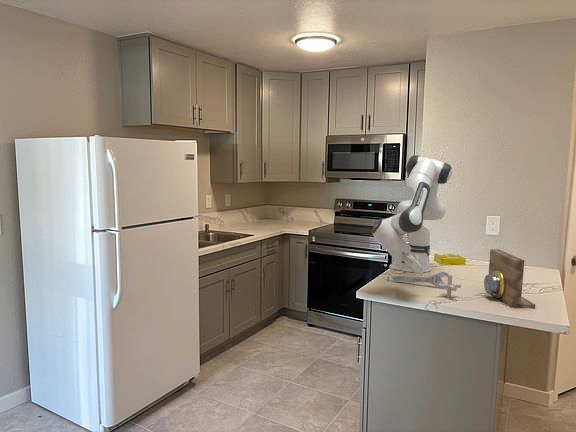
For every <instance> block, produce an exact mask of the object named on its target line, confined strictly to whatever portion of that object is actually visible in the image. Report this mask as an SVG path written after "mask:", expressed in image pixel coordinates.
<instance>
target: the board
mask: <svg viewBox="0 0 576 432" xmlns="http://www.w3.org/2000/svg"><path fill="white" fill-rule="evenodd" d="M524 269H525V259H523V258H519V257H518V256H516V255H513V254H510V253H508V252H505V251H504V250H502V249H499V248H498V249H496V248H495V249H491V248H490V250H489V263H488V274H487V275H492V274H493V272H494V271H501V272H502V273H503V275H504V278H505V293H504V295H503V297H502V298H497V299H498V300H499V301H501V302H502V303H504V305H506V306H508V307H510V308H512V309H514V308H517V309H536V304H535V303H533V302H532V301H530V300H528V299H526V298H525V297H523V296H522V294H523V293H522V291H523V281H524V271H525V270H524ZM490 294H491V295H492V296H493V297H494V295H493V293H490Z"/></svg>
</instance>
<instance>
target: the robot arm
mask: <svg viewBox="0 0 576 432" xmlns="http://www.w3.org/2000/svg"><path fill="white" fill-rule="evenodd" d="M452 169H453V167H452V166H451V164H450V163H448V162H443V161H440V160H438V159H436V158H430V157H425V156H420V155H415V154H414V155H411V156H410V157H409V159H408V160H407V162H406V164H405V172H406V173H407V174H408V178H407V180H406V184H405V189H406V191H407V193H408V194H409V195H411V196H412V197H411V198H412V199H408V200H402V201H400V202H399V203H398V205H397V208H396V209H397V210H396V211H397V214H394V215H392V216H389V217H386V218H383V219H379V220H378V221H377V222H376V223H374V225H373V226H372V230H371V233H372V236H373V237H374V239H375V240H376V241H377V242H378V243H379V245H380V246H382V247H383V248H385V250H386V251H387V253H388V254H389V255H390V256H391V257H392V258H393V262H392V263H390V264H389V269H391V270H392V269H393V270H398V271H404V272H409V273H415V274H419V276H424V274H425V273H427V272H428V273H429V272H431V271H432V269H431V264H430V254H431V245H430V240H431V239H430V237H431V232H430V230H429V229H428V228H427V227H425V226H424V225H423V223H424V221H438V220H441V219H442V218H444V216H445V214H446V206H445V205H444V203H443V202H442V201H440V200H439V199H438V196H437V195H438V191H439V185H444V184H447V183H448V181H449V180H450V179H451V177H452V173H453V170H452ZM407 234H408V242H407V241H406V240H405V239H404V238H403V236H405V235H407Z"/></svg>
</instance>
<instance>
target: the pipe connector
mask: <svg viewBox="0 0 576 432" xmlns="http://www.w3.org/2000/svg"><path fill="white" fill-rule="evenodd" d="M448 274H449V275H448V277H447V281H445V280H444V281H442V282H443V284H438V288H437V289H446V298H448V297H451V298H452V291H453V292H456V291H457V289H460V288H462V284H461V283H453V274H451V273H448Z"/></svg>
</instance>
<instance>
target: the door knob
mask: <svg viewBox="0 0 576 432" xmlns="http://www.w3.org/2000/svg"><path fill="white" fill-rule="evenodd" d="M483 282H484V283H483V288H484V290H485V292H486V294H491V293H493V295H494V296H493V295H492V296H493V297H494V298H496V299H498V298H502V297H503V295H504V293H505V278H504V275H503V273H502V272H501V271H494V272H493V274H492V275H488V274H486V275H485V277H484V280H483Z"/></svg>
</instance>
